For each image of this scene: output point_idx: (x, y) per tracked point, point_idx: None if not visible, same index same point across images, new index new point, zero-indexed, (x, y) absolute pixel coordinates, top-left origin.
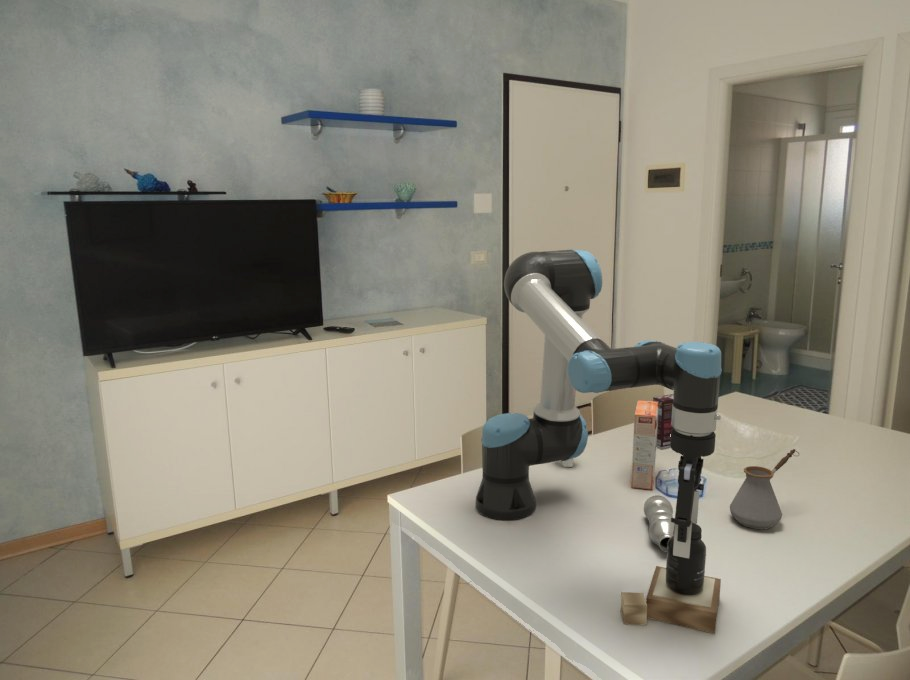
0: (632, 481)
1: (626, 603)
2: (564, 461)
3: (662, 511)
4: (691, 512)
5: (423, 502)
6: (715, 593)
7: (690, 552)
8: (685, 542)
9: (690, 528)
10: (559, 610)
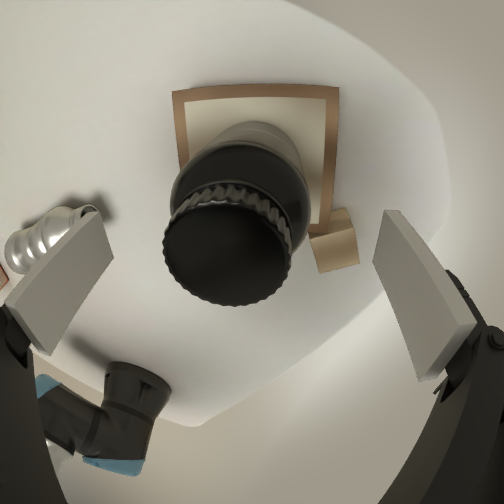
0: (3, 284)
1: (355, 260)
2: (31, 342)
3: (31, 253)
4: (501, 392)
5: (184, 417)
6: (247, 91)
7: (307, 199)
8: (448, 271)
9: (464, 305)
10: (338, 316)
